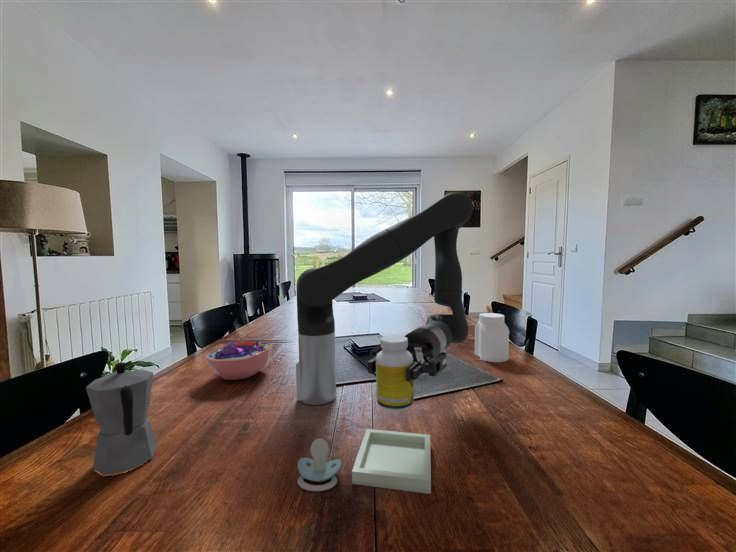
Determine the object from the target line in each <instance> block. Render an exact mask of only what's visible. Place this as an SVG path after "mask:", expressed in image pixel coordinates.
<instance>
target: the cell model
mask: <svg viewBox="0 0 736 552" xmlns="http://www.w3.org/2000/svg"><path fill="white" fill-rule="evenodd" d="M272 355H273V344H272V343H270V342H266V341H258V340H256V341H250V342H249V341H248V342H246V341H245V342H243V341H242V342H233V341H230V342H228V343H226V344H225V345H222V346H220V347H218V348H216V349H213V350H212V351H210V352H208V353H206V354H205V356H204V359H205V361H206V362H207V364H208V365H209V366H210V368H211V369H212V370H213V371H215V373H216V374H217V375H218V376H219V377H220V378H222V379H223V380H227V381H240V380H246V379H248V378H251V377H252V376H255V375H256V374H257V373H259V372H261V371H262V370H263V369H264V368H265V367H266V366H267V364H268V363H269V361H270V360H271V358H272Z"/></svg>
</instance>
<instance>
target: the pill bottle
mask: <svg viewBox="0 0 736 552" xmlns="http://www.w3.org/2000/svg"><path fill="white" fill-rule="evenodd" d="M404 336H405V335H399V334H398V335H397V334H391V335H383V336H382V337H380V340H379V341H380V343H379V344H380V345H381V348H382V351H380V352H379V353H378V354H377V356H376V372H375V379H376V380H375V382H376V387H375V388H376V395H375V396H376V397H375V398H376V404H377V405H378V407H380V408H381V409H382V410H384V411H388V412H392V413H396V412H400V413H401V412H403V411H407V410H409V409H410V408H412V407H413V404H414V401H415V400H414V399H415V398H414V396H415V395H414V394H415V393H414V385H415V384H414V380H413V381H412V382H408V381H406V370H407V368H408V367H409V366H410V365H412V364H413V356H412V354H411V353H410V352H409V351H407V350H406V348H407V347H408V339H407V338H406V337H404Z"/></svg>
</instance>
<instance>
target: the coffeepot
mask: <svg viewBox="0 0 736 552" xmlns="http://www.w3.org/2000/svg"><path fill="white" fill-rule="evenodd" d="M126 366H127V362H118V363H115V364H114V368H115V371H113V372H111V373H109V375H106V376H102V377H99V378H96V379H94V380H93V381H92V382H90V383H89V384H88V385H87V386H86V387H85V389H86V392H87V396H88V399H89V402H90V406H91V410H92V414H93V416H94V420H95V423H97V424H99V431H98V434H97V437H96V438H97V439H96V446H95V453H94V459H93V466H92V470H93V469H94V470H96V471H98V472H100V473H101V474H103V475H106V474H114V473H119V472H124V471H127V470H128V471H129V470H131V469H133V468H135V467H137V466H139V465H141V464H143V463H145V462H147V461H148V460H150V459H151V460H152V459H153V458H152V457H154V456H155V455H154V453H155V454H156V452H157V449H158V444H157V441H156V438H155V434H154V430H153V428H152V425H151V421H150V418H148V413H147V412H148V410H149V409H150V402H151V394H152V385H153V376H154V372H153V371H149V370H146V369H135V370H134V369H133V370H127V369H126V368H127V367H126ZM155 451H156V452H155ZM153 455H154V456H153ZM151 460H150V461H151ZM148 462H149V461H148ZM148 462H147V463H148Z"/></svg>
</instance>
